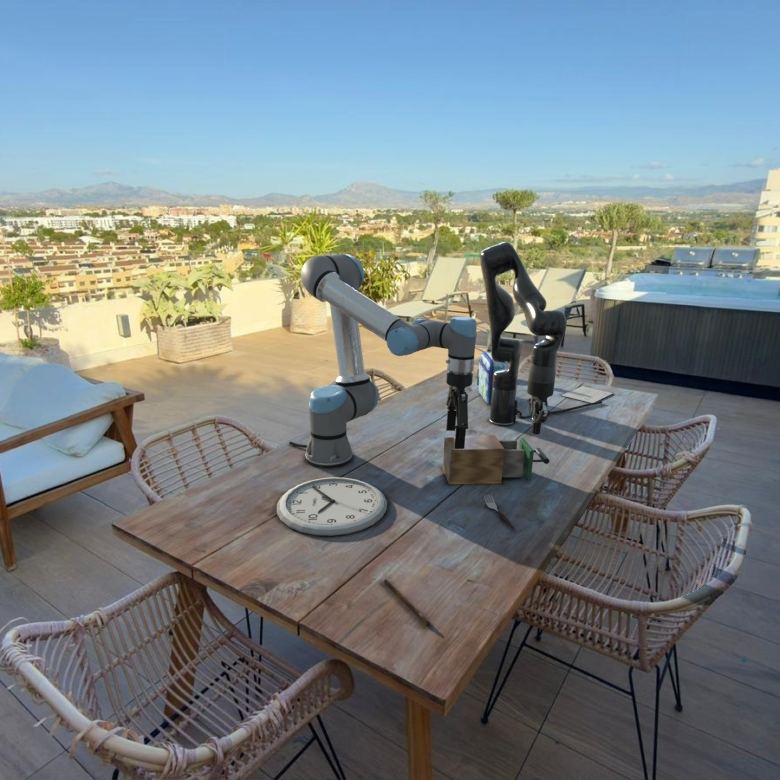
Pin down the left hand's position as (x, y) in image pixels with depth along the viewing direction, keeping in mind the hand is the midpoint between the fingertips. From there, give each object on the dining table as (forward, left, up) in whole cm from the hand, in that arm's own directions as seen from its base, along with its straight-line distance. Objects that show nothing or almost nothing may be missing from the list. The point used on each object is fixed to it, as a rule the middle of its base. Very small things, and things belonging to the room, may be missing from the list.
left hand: (454, 439), depth 157 cm
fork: (+15, -20, -12) cm, 28 cm away
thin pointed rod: (-1, -60, -12) cm, 61 cm away
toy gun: (0, +119, -12) cm, 120 cm away
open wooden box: (+6, +2, -12) cm, 13 cm away
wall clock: (-29, -27, -12) cm, 42 cm away
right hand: (+23, +8, +2) cm, 25 cm away
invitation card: (+48, +100, -12) cm, 112 cm away
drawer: (+17, +6, -11) cm, 22 cm away
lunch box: (+6, +80, -12) cm, 81 cm away
